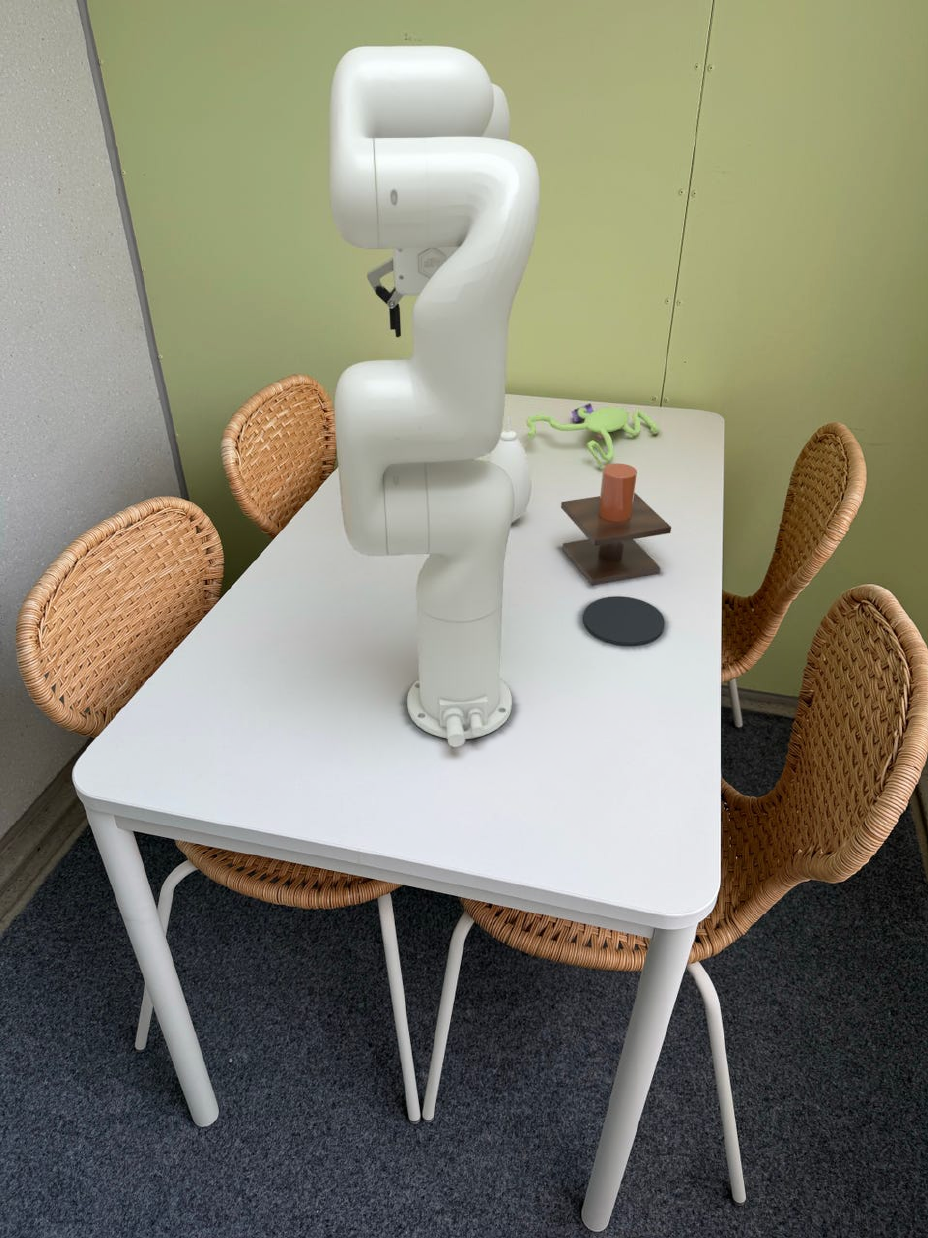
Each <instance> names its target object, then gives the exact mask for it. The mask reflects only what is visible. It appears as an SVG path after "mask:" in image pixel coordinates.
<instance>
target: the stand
mask: <svg viewBox="0 0 928 1238" xmlns="http://www.w3.org/2000/svg"><path fill="white" fill-rule="evenodd" d="M599 504H600V495H598V496H593V497H585V498H579V499H572V500H565V501H561V503H560V508H561V510H562V511H563V512H564V513H565V514H566V515H567V516H568V518H569V519H571V521H572V522H573V523H574V524H575V525H576V526H577V528H578V529H579V530H580V531H581V532H582V534H584V536H585V537H586V538H587V539H581V540H575V541H570V542H563V543H562V550H563V551H564V553H565V554H566V555H567V557H568V558H569V559H570V561H572V562H573V564H574V565H575V566H576V568H577V569H578V570H579V571H580V573H581V574H582V575H583V576H584V578H585V579H586V580H587V582H589V584H590V585H591V586H596V585H601V584H606V583H607V584H608V583H612V582H619V581H624V580H629V579H635V578H641V577H645V576H646V577H647V576H651V575H656V574H660V572H661V567H660V566H659V565H658V563H657V562H656V561H655V560H654V559H653V558H652V557H651V556H650V555H649V554H648V553H647V552H646V551H645V549H643V548H642V547H641V546H640V545H639V543H637V542H636V541H635V540H637V539H643V538H649V537H654V536H660V535H661V536H662V535H666V534H671V532H672V526H671V525H669V523H667V521H666V520H665V519H663V517H661V516H660V515H659V514H658V513H657V512H656V511H655V510H654V509H653V508H652V507H651V506H650V505H649V504H647V502H645V501H644V499H642V498H641V497H640V496H639V495H638V494H637V493H636V492H634V500H633V508H632V516H631V518H630V519H628V520H626V521H622V522H613V521H608V520H605V519H603V518H602V517H600V515H599Z"/></svg>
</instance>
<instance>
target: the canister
mask: <svg viewBox="0 0 928 1238" xmlns="http://www.w3.org/2000/svg"><path fill="white" fill-rule="evenodd" d="M637 475H638V470H637V468H635V467H634V466H632V465H630V464H626V463H619V462H618V463H610V464H607V465H605V466H604V467H603V469H602V476H601V485H600V495H599V496H600V504H599V515H600V517H602V518H603V519H605V520H608V521H613V522H622V521H626V520H628V519H630V518H631V516H632V508H633V500H634V492H635V491H636V484H637ZM635 493H636V492H635Z"/></svg>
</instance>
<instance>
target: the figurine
mask: <svg viewBox="0 0 928 1238" xmlns="http://www.w3.org/2000/svg"><path fill="white" fill-rule="evenodd" d="M570 412H571V414H572V417H573V420H574V422H580V421H582V420H583V419H584V421H583V423H572V424H571V423H570V424H562V423H558V422H556V421H555V419H554V417H553V416H551V415H550V414H549V415H548V414H535V415H532V416H529V417H528V418H527V419H526V421H525V422H526V426H527V427H528V428H529V431H528V433H527V438H528V439H529V440H533V438H534V437H535V435H536V432H537V429H536V424H535V423H534V422H548V424H549V426H550V427H551V428H553V429H555V430H557V431H561V432H569V431H570V432H573V431H583V430H588V431H590V432H594V433H597V434H596V436H597V438H599V439H602V438H603V439H604V441H605V445H606V449H607V454H606V453H605V452H604V451H603V449H602V447H601V445H600V444H599V443H598V442H596V441H595V440H590V441H588V442H587V443H586V446H587V450H588V451H589V453H590V454H591V455H592V457H593V458H594V459H595V461H596V462H597V465H598V467H599V469H600V470H603V468H604V467H603V465H602V462H601V460H600V459H599V457H598V455H597V454H596V452H595V450H594V448H595V449H596V450H597V452H598V453H599V455H600V457H601V459H603V460H604V461H606V462H607V463H608V462H610V461H611V460H613V458H614V454H615V450H614V445H613V440H612V437H611V435H610V434H609V433H611V432H615V431H617V430H622V429H623V430H624V431H625V433H627V434H628V435H630V436H633V437H634V436H637V435H638V434H639V433H640V431H641V421H640V420H642V421H643V422H644V423H645V424H647V426H648V427H649V428H650V432H651V433H652V434H653V435H657V434H658V433H660V429H659V427H658V425H657V424H656V422H654V420H652V419H651V418H650V417H649V416H648V415H647V414H646V413H644V412H643V411H640V410H636V411H634V412H633V413H632V421H633V425H634V428H632V427H631V426H630V425H629V424H628V422H629V421H630V414H629V412H627V410H625V409H624V408H621V407H617V406H608V407H601V408H597V409H595V410H594V408H593V404H592V403H586V404H585V405H582V406H580V407H578V408H574V410H572V411H570Z"/></svg>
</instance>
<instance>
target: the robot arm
mask: <svg viewBox="0 0 928 1238" xmlns="http://www.w3.org/2000/svg"><path fill="white" fill-rule="evenodd" d="M330 87H331V88H330V95H329V106H328V107H329V108H328V109H329V110H328V118H329V119H328V137H329V138H328V139H329V141H328V142H329V145H328V146H329V147H328V148H329V151H328V152H329V155H328V156H329V157H328V158H329V159H328V161H329V163H328V164H329V169H328V171H329V172H328V174H329V175H328V177H329V181H328V182H329V185H328V187H329V199H330V200H329V201H330V209H331V215H332V219H333V222H334V225H335V228H336V230H337V232H338V233H339V235H340V236H341V238H342V239H343V240H344V241H345V242H347V243H348V244H350V245H351V246H353V247H356V248H359V249H365V250H392V257H391V258H390V259H388V260H386V261H384V262H382V263H381V264H379V265H378V266H376V267H374V268H373V269H371V270H369V271H368V272H367V273H366V278H367V280H368V282H369V284H370V285H371V287H372V289H373V291H374V292H375V295H376V296H377V297H378V298H379V299H381V301H382V302H383V303H384V304H385V305H387V307H388V309H389V310H388V312H389V330H390V331H391V330H392V331H393V330H394V333H395V338H400V337H402V328H401V327H402V325H401V324H402V323H401V308H400V304H399V302H400V301H401V300H402V298H403V297H404V296H410V297H411V296H412V297H413V296H418V297H417V299H415V303H414V305H413V308H412V312H411V329H412V355H411V357H409V358H406V359H405V358H404V359H403V358H402V359H374V360H365V361H359V362H357V363H354V364H352V365H350V366H349V367H347V368H346V369H345V370H344V371H343V372H342V374H341V375H340V377H339V379H338V381H337V385H336V388H335V394H334V407H333V409H334V412H333V413H334V434H335V445H336V456H337V457H336V458H337V468H338V478H339V491H340V502H341V503H340V504H341V513H342V522H343V528H344V532H345V534H346V539H347V541H348V543H349V545H350V546H351V548H353V550H354V551H356V553H359V554H361V555H364V556H370V557H394V556H395V557H396V556H415V555H416V556H417V555H418V556H419V555H428V557H427V558H426V560H425V561H424V563H423V565H422V567H421V568H420V570H419V572H418V576H417V579H416V583H415V584H416V585H415V604H416V605H415V607H416V631H417V656H418V657H417V659H418V677H419V678H418V679H416V680H415V681H414V683H413V684H412V685H411V686H410V688H409V690H408V693H407V697H406V705H407V707H406V708H407V711H408V715H409V716H410V719H411V721H412V722H413V723H414V724H415V725H416V726H417V727H419V728H420V729H422V730H423V731H424V732H426V733H428V734H429V735H431V736H432V735H433V736H436V737H439V738H443V739H447V743H448V745H449V746H450V747H453V748H459V747H462V746H463V745H464V744H465V743H466V740H471V739H475V738H480V737H483V736H485V735H488V734H491V733H493V732H494V731H496V730H498V729H499V728H501V727H502V725H504V724H505V723H506V722H507V720H508V719H509V717H510V716H511V712H512V709H513V708H512V707H513V695H512V692H511V689H510V687H509V686H508V685H507V683H506V681H504V680H503V679H502V678H501V656H502V655H501V653H502V652H501V651H502V648H501V647H502V623H503V622H502V621H503V619H502V618H503V617H502V616H503V615H502V614H503V594H504V592H503V591H504V574H505V573H504V571H505V560H506V553H507V547H508V543H509V542H508V541H509V538H510V537H509V536H510V532H511V527H512V523H513V522H512V519H513V512H514V489H513V485H512V482H511V480H510V477H509V476H508V474H507V473H506V472H505V471H504V470H503V469H502V468H501V467H499V466H498V465H496V464H494V463H491V462H488V461H487V460H483V459H480V458H482V457H485V456H487V455H489V454H490V452H492V451H493V450H494V448H495V447H496V445H497V444H498V442H499V439H500V436H501V432H502V431H503V425H504V418H505V403H506V402H505V401H506V384H507V365H508V364H507V363H508V344H509V343H508V341H509V340H508V338H509V326H510V317H511V312H512V309H513V305H514V301H515V298H516V297H517V293H518V290H519V287H520V286H521V282H522V280H523V277H524V274H525V271H526V269H527V266H528V263H529V260H530V257H531V253H532V250H533V246H534V243H535V238H536V234H537V228H538V223H539V222H538V221H539V216H540V215H539V214H540V204H541V203H540V202H541V201H540V200H541V181H540V173H539V170H538V164H537V162H536V160H535V158H534V156H533V155H532V154H531V152H530V151H529V150H527V149H526V148H525V147H524V146H522V145H520V144H518V143H515V142H513V141H510V136H511V135H510V134H511V114H510V108H509V104H508V99H507V97H506V94H505V92H504V91H503V89H502V88H501V87H500V86H499V85H497V84H495V83H492V81H491V77H490V76H489V73H488V71H487V69H486V68H485V66H484V65H483V64H482V63H481V62H480V61H479V60H478V59H477V58H476V56H474V55H473V54H470V53H469V52H467V51H465V50H463V49H461V48H457V47H454V46H443V45H442V46H441V45H393V46H391V45H390V46H389V45H387V46H384V45H380V46H379V45H377V46H373V45H372V46H369V45H366V46H365V45H364V46H363V45H362V46H358V47H354V48H353V49H350V50H349V51H347V52H346V53H345V54H344V55H343V56H342V57H341V59H340V61H339V62H338V64H337V66H336V68H335V71H334V74H333V78H332V82H331V86H330ZM391 272H392V274H393V282H394V286H393V288H391V291H389V290H388V289H387V288H386V287H385V286H383V284H382V282H381V278H383V277H384V276H386V275H388V274H390V273H391Z"/></svg>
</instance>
